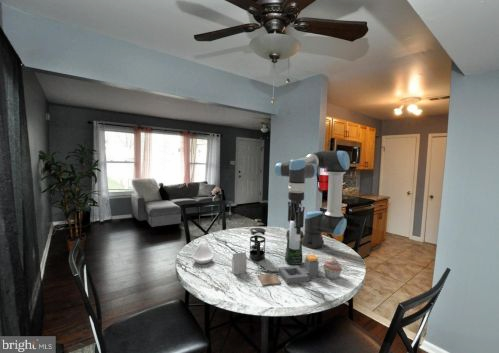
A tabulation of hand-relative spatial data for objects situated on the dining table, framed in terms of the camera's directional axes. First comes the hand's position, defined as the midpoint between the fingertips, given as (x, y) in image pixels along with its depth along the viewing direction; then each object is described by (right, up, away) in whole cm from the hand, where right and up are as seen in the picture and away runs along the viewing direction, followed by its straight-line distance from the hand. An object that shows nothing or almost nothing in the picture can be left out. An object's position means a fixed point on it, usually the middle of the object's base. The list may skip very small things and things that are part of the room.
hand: (294, 238), depth 114 cm
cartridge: (0, -5, 0) cm, 5 cm away
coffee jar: (+3, -19, +19) cm, 27 cm away
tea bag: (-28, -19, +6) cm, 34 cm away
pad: (-13, -20, -2) cm, 23 cm away
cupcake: (+20, -20, +3) cm, 28 cm away
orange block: (+9, -16, +4) cm, 19 cm away
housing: (+3, -20, +2) cm, 20 cm away
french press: (-18, -18, +24) cm, 35 cm away
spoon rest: (-50, -17, +22) cm, 57 cm away
